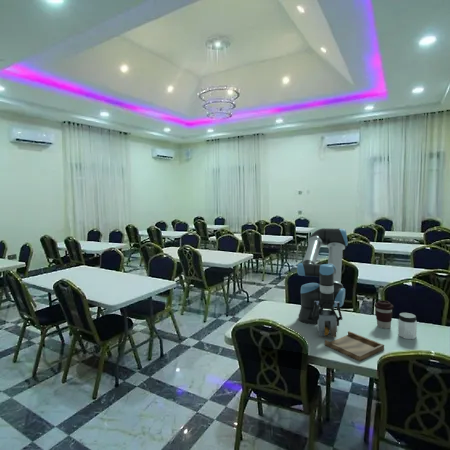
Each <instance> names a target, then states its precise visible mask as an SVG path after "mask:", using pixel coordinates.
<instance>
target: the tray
mask: <svg viewBox="0 0 450 450" xmlns="http://www.w3.org/2000/svg"><path fill="white" fill-rule="evenodd" d="M324 345H325V346H326V347H328V348H331V349H333V350H334V351H337V352H338V353H341V354H343V355H345V356H347V357H350V359H351V358H352V359H354V360H355V361H358V362H362V361H364V360H366V359H367V358H369V357H371V356H374V355H375V354H378V353H380V352H382V351H384V350H385V345H384V344H383V343H380V342H378V341H375V340H373V339H371V338H367V337H365V336H362V335H360V334H357V333H354V332H352V331H350V330H349V331H347V334H346V335H344V336H341V337H339V338H337V339H335V340H332V341H329V340H327V339H325V340H324Z"/></svg>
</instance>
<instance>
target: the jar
mask: <svg viewBox="0 0 450 450" xmlns="http://www.w3.org/2000/svg"><path fill="white" fill-rule="evenodd" d="M397 322H398V324H397V325H398V326H397V327H398V329H397V331H398V332H397V333H398V334H397V335H398V336H399V337H401V338H403V339H405V340H407V339H408V340H415V338H417V332H418V331H417V328H418V327H417V323H418V321H417V316H416V315H415V314H413V313H409V312H400V313H399V316H398V321H397Z"/></svg>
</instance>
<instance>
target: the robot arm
mask: <svg viewBox="0 0 450 450" xmlns="http://www.w3.org/2000/svg"><path fill="white" fill-rule="evenodd" d="M307 242H308V246H307V248H306V252H305V255H304V257H303V261H302V262H301V263H300V262H299V263H298V264H297V267H296V272H297V275H298V276H301V277H303V276H304V277H315V278H319V283H317V282H309V283H305V284H302V285H301V287H300V309H299V313H298V320H299V321H300V322H301V321H302V322H301V323H304V322H305V324H308V323H310V324H311V325H313V324H315V325H316V326H317V327H316V328H317V332H319V318H318V317H319V313H320V314H321V312H322V310H332V312H333V314H336V333H338V327H339V326H340V321H343V317H342V313H341V312H342V311H341V308H342V307H343V306H344V302H345V298H346V288H344V286H343V285H344V284H342V283H341V281H342V267H343V264H342V263H343V250H346V247H348V244H349V242H348V235H347V230H346V229H345V228H340V227H339V228H324V227H323V228H319V229H317V230H315V231H313V233H312V234H311V235H310V236H309V238H308V240H307ZM322 246H326V248H327V249H328V258H327V259H328V260H327V263H323V264H318V263H317V259H318V256H319V252H320V249H321V247H322ZM335 307H336V308H337V312H338V314H337V312H336V310H335ZM318 310H319V311H318ZM338 315H339V316H338ZM310 324H309V325H310Z"/></svg>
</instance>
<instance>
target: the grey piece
mask: <svg viewBox="0 0 450 450" xmlns="http://www.w3.org/2000/svg"><path fill="white" fill-rule="evenodd" d="M318 311H319V310H318ZM336 314H337V313H336ZM336 314H333V312H332V310H331V309H323V310H322V312H321V314H320V313H319V317H318V318H319V331H318V337H326V335H325V327H327V328H328V329H329V332H330V338H331V337H332V338H336V337H337V332H336Z"/></svg>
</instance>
